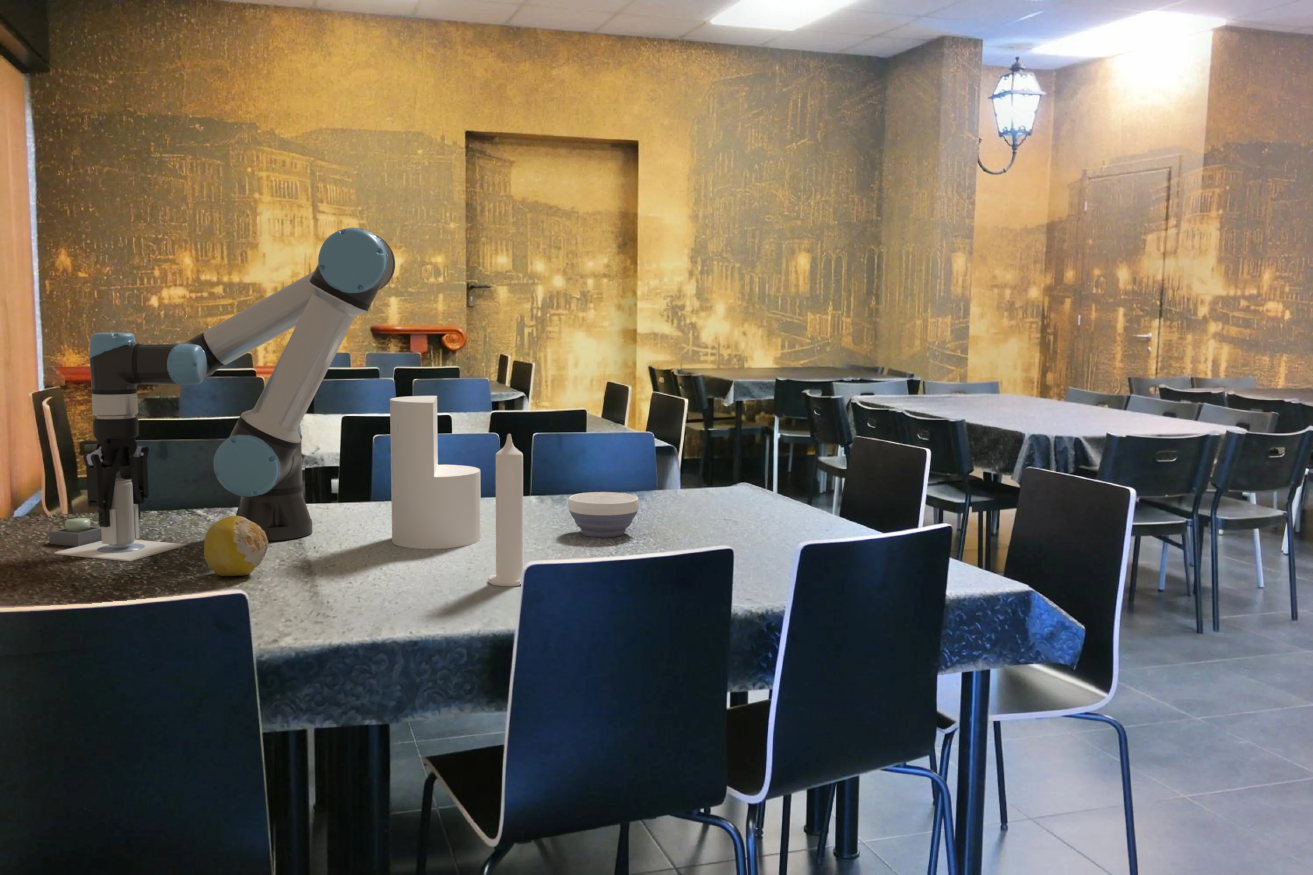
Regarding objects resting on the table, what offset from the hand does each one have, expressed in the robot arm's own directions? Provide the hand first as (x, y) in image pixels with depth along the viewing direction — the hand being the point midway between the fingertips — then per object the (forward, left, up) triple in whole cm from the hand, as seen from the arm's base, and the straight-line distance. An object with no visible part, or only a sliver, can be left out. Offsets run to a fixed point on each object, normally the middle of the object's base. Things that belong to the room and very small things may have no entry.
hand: (120, 540), depth 201 cm
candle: (-78, -3, -2) cm, 78 cm away
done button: (+13, -3, 0) cm, 13 cm away
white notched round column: (-50, -29, -2) cm, 58 cm away
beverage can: (0, 0, -1) cm, 1 cm away
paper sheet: (0, 0, -2) cm, 2 cm away
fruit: (-33, +9, -2) cm, 34 cm away
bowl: (-79, -46, -2) cm, 91 cm away
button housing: (+13, -3, -2) cm, 13 cm away
